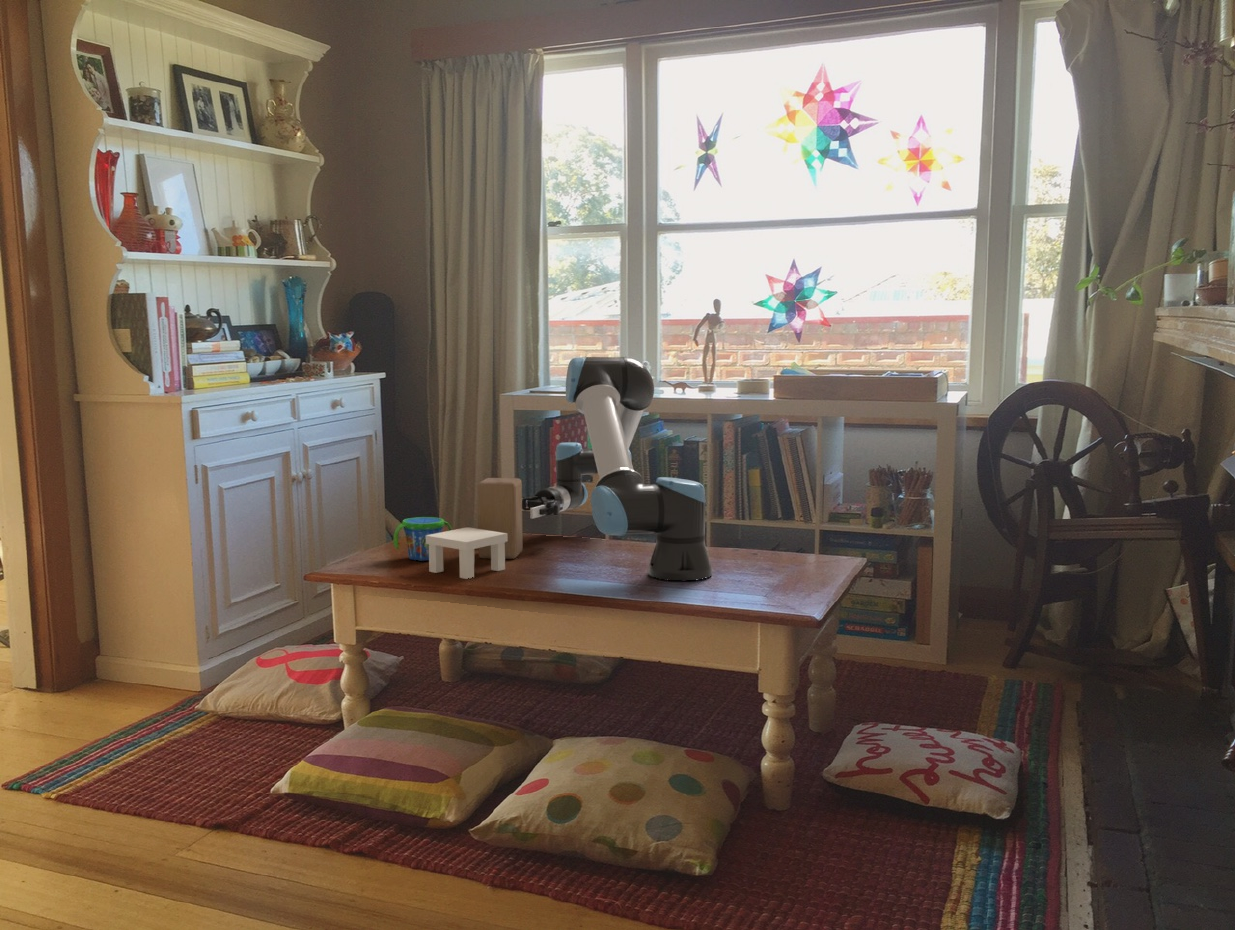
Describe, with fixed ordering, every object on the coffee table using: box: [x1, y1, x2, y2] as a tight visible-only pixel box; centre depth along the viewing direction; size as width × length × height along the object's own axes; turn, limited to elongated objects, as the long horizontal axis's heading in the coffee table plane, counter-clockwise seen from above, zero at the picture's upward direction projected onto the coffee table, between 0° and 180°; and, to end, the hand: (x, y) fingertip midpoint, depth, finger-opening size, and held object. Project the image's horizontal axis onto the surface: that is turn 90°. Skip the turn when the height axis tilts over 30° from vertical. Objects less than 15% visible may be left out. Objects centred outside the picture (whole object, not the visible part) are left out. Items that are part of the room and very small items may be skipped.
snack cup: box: [392, 516, 453, 562], centre depth 264 cm, size 16×10×10 cm
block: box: [477, 477, 523, 560], centre depth 268 cm, size 10×10×20 cm
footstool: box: [426, 526, 508, 580], centre depth 251 cm, size 14×14×9 cm
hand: (509, 511), depth 272 cm, fingers open, 13 cm apart
